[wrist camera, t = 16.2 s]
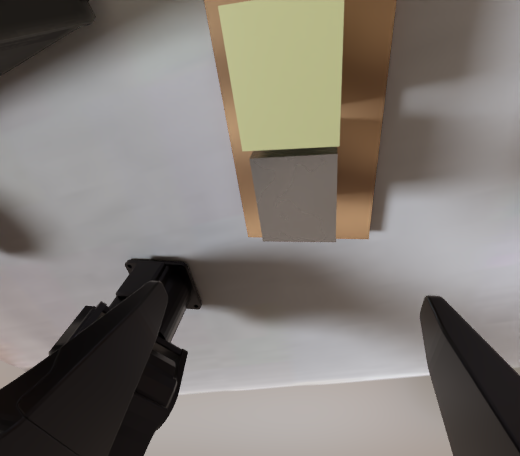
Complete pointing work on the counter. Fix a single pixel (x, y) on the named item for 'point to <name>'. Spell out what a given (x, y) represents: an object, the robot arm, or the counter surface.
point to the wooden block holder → (351, 120)
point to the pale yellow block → (285, 71)
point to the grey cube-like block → (296, 193)
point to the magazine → (37, 26)
